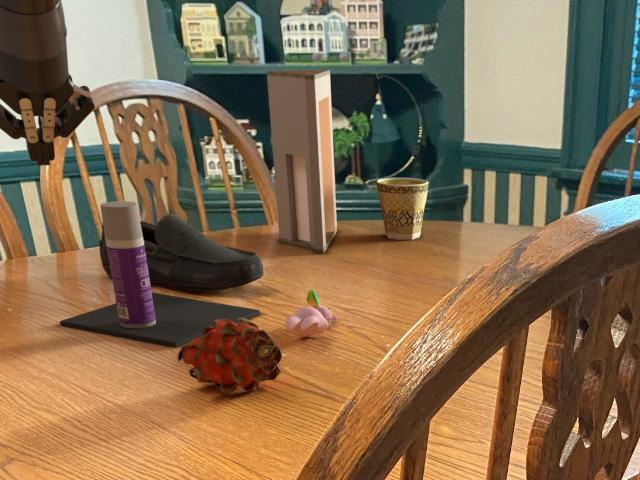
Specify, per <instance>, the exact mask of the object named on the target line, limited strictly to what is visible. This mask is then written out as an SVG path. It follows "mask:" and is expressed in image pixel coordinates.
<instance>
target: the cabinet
mask: <svg viewBox="0 0 640 480" xmlns="http://www.w3.org/2000/svg"><path fill="white" fill-rule="evenodd" d="M266 79H267V93H268V107H269V117H270V131H271V145H272V157H273V170H274V182H275V183H274V184H275V196H276V209H277V210H276V211H277V223H278V234H279V242H282V243H286V244H290V245H295V246H299V247H302V248H307V249H311V250H314V253H315V254H325V252H326V250H327V249H328V247H329V246H330V244H331V242H332V241H333V238H334V237H335V236H336V234H337V232H338V223H337V222H338V221H337V220H338V219H337V204H336V203H337V198H336V176H335V157H334V156H335V153H334V132H333V130H334V129H333V112H332V111H333V110H332V89H331V86H332V85H331V70H330V69H312V70H311V69H310V70H266Z"/></svg>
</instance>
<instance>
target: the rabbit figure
mask: <svg viewBox="0 0 640 480" xmlns="http://www.w3.org/2000/svg"><path fill="white" fill-rule="evenodd" d="M306 303H307V304H308V305H307V306H303V307H300V308H298V309H297V310H296V311H295V312H294V313H293V314H292V315H290V316H287V317H286V318H285V325H286V327H287V329H288V330H289V331H293V330H295V331H296V332H297V333H299V334H301V335H305V336H306V337H307V338H311V337H316V335H318V334H321V333H323V332H324V331H326V330H327V329H328V328H329V325H330V324H331V323H332V322H333V321H337V320H339V316H337V315H334V313H333V310H332V309H333V308H332V306H331V307H326V306H324V305H320V304H319V298H318V297H317V294H316V291H315V289H314V288H311V289H310V290H308V292H307V295H306Z"/></svg>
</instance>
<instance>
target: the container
mask: <svg viewBox="0 0 640 480" xmlns="http://www.w3.org/2000/svg"><path fill="white" fill-rule="evenodd" d="M99 206H100V212H101V213H100V214H101V221H102V224H103V227H104V233H105V240H106V247H107V253H108V258H109V264H110V270H111V275H112V278H111V281H112V286H113V292H114V298H115V303H116V304H117V309H118V315H119V321H120V325H121V326H122V327H125V328H145V327H150V326H153V325H155V324H156V318H155V311H154V305H153V298H152V293H153V292H152V287H151V286H152V285H151V282H150V278H149V272H148V265H147V259H146V252H145V246H144V240H143V235H142V229H141V224H140V221H141V219H140V213H139V207H138V203H137V202H135V201H129V200H128V201H127V200H118V201H117V200H115V201H107V202H102V203H100V204H99Z"/></svg>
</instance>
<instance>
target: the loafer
mask: <svg viewBox="0 0 640 480" xmlns="http://www.w3.org/2000/svg"><path fill="white" fill-rule="evenodd" d="M140 224H141V229H142V235H143V240H144V246H145V252H146V259H147V265H148V272H149V278H150V283H160V284H168V285H170V286H173V287H175V288H176V289H178V290H181V291H190V292H191V291H192V292H214V291H224V290H229V289H232V288H233V289H235V288H236V289H237V287H238V288H239V287H242V286H244V285H248V284H251V283H253V282H256V281H258V280H260V279H262V278H263V277H264V274H265V273H264V265H263V262H262V259H261V257H260V256H259V255H258V253H256V252H254V251H249V250H245V249H244V250H243V249H239V248H235V247H231V246H226V245H223V244H220V243H218V242H216V241H214V240H213V239H211V238H209V237H208V236H207V235H206V234H204V233H203V232H202V231H200V230H198V229H197V228H195V227H194V226H193V225H191V224H189V223H187V222H186V221H185V220H183V218H181V217H180V216H179V215H178V214H176V213H167V214H165V215H163V216H162V217H161V218H160V219H159V221H158V222H157V224H153V223H149V222H145V221H142V220H140ZM101 230H102V231H101V237H100V238H101V239H100V240H99V241H98V245H99V256H100V260H101V265H102V268H103V270H104V272H105V273H106V275H107V276H108V277H110V278H111V279H112V275H111V270H110V264H109V258H108V253H107V247H106V240H105V233H104V227H103V223H102V224H101Z"/></svg>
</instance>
